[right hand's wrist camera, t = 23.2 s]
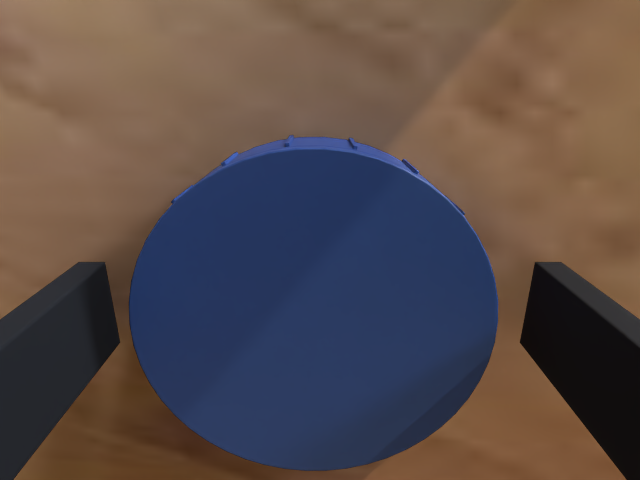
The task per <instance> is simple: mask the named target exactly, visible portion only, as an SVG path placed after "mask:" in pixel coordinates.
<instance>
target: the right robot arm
mask: <svg viewBox="0 0 640 480" xmlns="http://www.w3.org/2000/svg"><path fill="white" fill-rule="evenodd" d="M119 343H120V339H119V334H118V329H117V323H116V318H115V313H114V308H113V302H112V297H111V292H110V286H109V281H108V276H107V271H106V265H105V262H78V263H77V264H76V265H74V266H73V267H72V268H70V269H69V270H67V271H66V272H65V273H63V274H62V275H61V276H59V277H58V278H56V279H55V280H54V281H52V282H51V283H50V284H48V285H47V286H46V287H44V288H43V289H41V290H40V291H39V292H37V293H36V294H35V295H33V296H32V297H30V298H29V299H28V300H26V301H25V302H24V303H22V304H21V305H20V306H18V307H17V308H15V309H14V310H13V311H11V312H10V313H9V314H7V315H6V316H5V317H3V318H2V319H0V480H13V479H14V478H15V477H16V475H17V474H18V473H19V472H20V470H21V469H22V468H23V466H24V465H25V464H26V463H27V461H28V460H29V459H30V457H31V456H32V455H33V454H34V452H35V451H36V450H37V448H38V447H39V446H40V445H41V443H42V442H43V441H44V439H45V438H46V437H47V436H48V434H49V433H50V432H51V430H52V429H53V428H54V427H55V425H56V424H57V423H58V421H59V420H60V419H61V418H62V416H63V415H64V414H65V413H66V411H67V410H68V409H69V407H70V406H71V405H72V404H73V402H74V401H75V400H76V398H77V397H78V396H79V395H80V393H81V392H82V391H83V389H84V388H85V387H86V386H87V384H88V383H89V382H90V380H91V379H92V378H93V377H94V375H95V374H96V373H97V371H98V370H99V369H100V368H101V366H102V365H103V364H104V362H105V361H106V360H107V359H108V357H109V356H110V355H111V353H112V352H113V351H114V350H115V348H116V347H117V346H118V344H119ZM520 343H521V344H522V346H523V347H524V348H525V350H526V351H527V352H528V353H529V355H530V356H531V357H532V359H533V360H534V361H535V362H536V364H537V365H538V366H539V368H540V369H541V370H542V371H543V373H544V374H545V375H546V377H547V378H548V379H549V380H550V382H551V383H552V384H553V386H554V387H555V388H556V389H557V391H558V392H559V393H560V395H561V396H562V397H563V398H564V400H565V401H566V402H567V404H568V405H569V406H570V407H571V409H572V410H573V411H574V413H575V414H576V415H577V416H578V418H579V419H580V420H581V422H582V423H583V424H584V425H585V427H586V428H587V429H588V430H589V432H590V433H591V434H592V436H593V437H594V438H595V439H596V441H597V442H598V443H599V445H600V446H601V447H602V448H603V450H604V451H605V452H606V454H607V455H608V456H609V457H610V459H611V460H612V461H613V463H614V464H615V465H616V466H617V468H618V469H619V470H620V472H621V473H622V474H623V475H624V477H625V478H626V479H627V480H640V319H638V318H637V317H635V316H634V315H633V314H631V313H630V312H629V311H627V310H626V309H625V308H623V307H622V306H620V305H619V304H618V303H616V302H615V301H614V300H612V299H611V298H609V297H608V296H607V295H605V294H604V293H603V292H601V291H600V290H599V289H597V288H596V287H594V286H593V285H592V284H590V283H589V282H588V281H586V280H585V279H584V278H582V277H581V276H579V275H578V274H577V273H575V272H574V271H573V270H571V269H570V268H568V267H567V266H566V265H564V264H563V263H562V262H535V265H534V271H533V276H532V281H531V286H530V292H529V297H528V302H527V308H526V313H525V318H524V323H523V329H522V334H521V339H520Z"/></svg>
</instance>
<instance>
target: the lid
mask: <svg viewBox="0 0 640 480" xmlns="http://www.w3.org/2000/svg"><path fill="white" fill-rule="evenodd" d="M171 203H172V205H171V206H170V208H169V209H168V210H167V211H166V212H165V213H164V214H163V215H162V217H161V218H160V219H159V220H158V222H157V223H156V225H155V226H154V228H153V230H152V231H151V233H150V234H149V236H148V237H147V239H146V241H145V243H144V246H143V248H142V250H141V252H140V254H139V257H138V259H137V262H136V266H135V269H134V273H133V277H132V280H131V288H130V297H129V320H130V329H131V334H132V339H133V345H134V348H135V351H136V354H137V356H138V359H139V362H140V365H141V367H142V369H143V371H144V373H145V375H146V377H147V379H148V381H149V383H150V384H151V386H152V387H153V389H154V390H155V392H156V393H157V395H158V396H159V397H160V399H161V400H162V401H163V403H164V404H165V405H166V406H167V407H168V408H169V409H170V410H171V412H172V413H173V414H174V415H175V416H176V417H177V418H178V419H180V420H181V421H182V422H183V423H184V424H185V425H186V426H187V427H189V428H190V429H191V430H192V431H194V432H195V433H197V434H198V435H200V436H201V437H202V438H204V439H205V440H207V441H208V442H210V443H212V444H214V445H216V446H218V447H219V448H221V449H223V450H225V451H227V452H229V453H232V454H234V455H237V456H239V457H241V458H244V459H247V460H250V461H254V462H257V463H260V464H263V465H268V466H273V467H278V468H284V469H293V470H304V471H327V470H336V469H346V468H351V467H356V466H361V465H366V464H370V463H373V462H376V461H379V460H382V459H385V458H388V457H390V456H393V455H395V454H397V453H400V452H402V451H404V450H406V449H408V448H410V447H412V446H413V445H415V444H417V443H419V442H420V441H422V440H424V439H425V438H427V437H428V436H429V435H431V434H432V433H434V432H435V431H436V430H438V429H439V428H440V427H442V426H443V425H444V424H445V423H446V422H447V421H448V420H449V419H450V418H451V417H452V416H453V415H455V414H456V412H457V411H458V410H459V409H460V408H461V407H462V405H463V404H464V403H465V402H466V401H467V399H468V398H469V397H470V395H471V394H472V392H473V391H474V389H475V388H476V386H477V384H478V383H479V381H480V379H481V377H482V375H483V373H484V371H485V369H486V367H487V364H488V362H489V359H490V356H491V353H492V349H493V346H494V343H495V337H496V331H497V324H498V296H497V290H496V283H495V277H494V274H493V271H492V268H491V265H490V261H489V258H488V256H487V253H486V251H485V249H484V247H483V245H482V243H481V241H480V239H479V237H478V235H477V234H476V232H475V231H474V230H473V228H472V227H471V225H470V224H469V222H468V221H467V220H466V218H465V217H464V214H465V213H464V212H463V211H462V210H461V209H460V208H459V207H458V206H456V205H455V204H454V203H453V202H452V201H451V200H450V199H449V198H447V197H446V196H444V195H443V194H442V193H441V192H440V191H439V190H438V189H436V188H435V187H434V186H433V185H432V184H431V183H430V182H429V181H427V180H426V179H425V178H424V177H423V176H421V175H420V174H419V171H418V170H417V169H416V168H414V167H413V166H412V165H411V164H410V163H409V162H408V161H406V160H405V159H403V160H402V161H400V160H398V159H397V158H395V157H393V156H392V155H390V154H388V153H385V152H383V151H380V150H378V149H376V148H373V147H371V146H368V145H364V144H360V143H357V142H355V141H354V140H353V138H349V140H344V139H336V138H328V137H299V138H294V136H293V135H290V136H289V137H288V139H285V140H278V141H274V142H271V143H267V144H264V145H260V146H257V147H254V148H252V149H250V150H247V151H245V152H243V153H241V154H238V153H237V152H236V153H234V154H232V155H231V156H230V157H229V158H227V159H226V160H225V161H223V162H222V163H221V165H220V166H218V167H217V168H215V169H214V170H213V171H211V172H210V173H209V174H208V175H206V176H205V177H204V178H202V179H201V180H200V181H199V182H197V183H196V184H195V185H194V186H193V185H192V186H190V187H189V188H188V189H186V190H185V191H184V192H182V193H181V194H180V195H179V196H177V197H176V198H175V199H173V200H172V202H171Z"/></svg>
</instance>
